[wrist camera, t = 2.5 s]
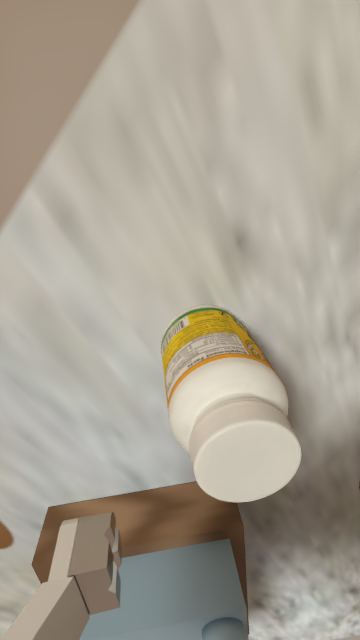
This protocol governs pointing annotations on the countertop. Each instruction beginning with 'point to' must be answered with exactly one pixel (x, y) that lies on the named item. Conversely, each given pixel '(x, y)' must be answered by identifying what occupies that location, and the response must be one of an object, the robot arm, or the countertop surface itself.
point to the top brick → (176, 597)
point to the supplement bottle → (227, 406)
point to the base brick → (153, 524)
